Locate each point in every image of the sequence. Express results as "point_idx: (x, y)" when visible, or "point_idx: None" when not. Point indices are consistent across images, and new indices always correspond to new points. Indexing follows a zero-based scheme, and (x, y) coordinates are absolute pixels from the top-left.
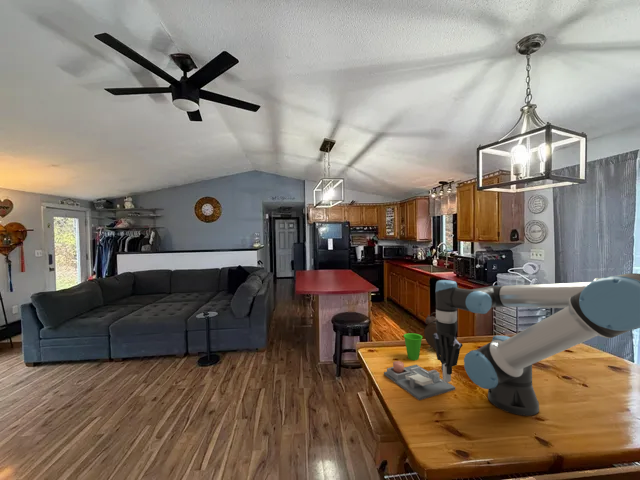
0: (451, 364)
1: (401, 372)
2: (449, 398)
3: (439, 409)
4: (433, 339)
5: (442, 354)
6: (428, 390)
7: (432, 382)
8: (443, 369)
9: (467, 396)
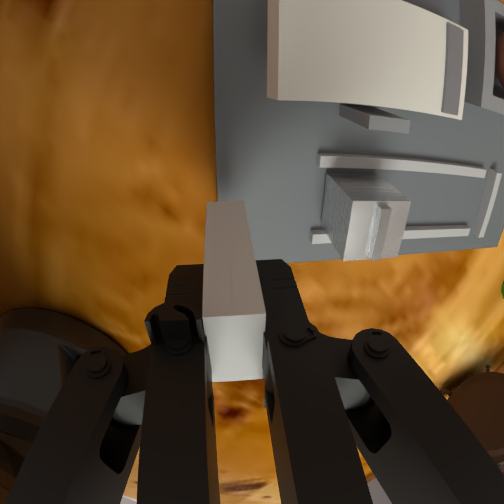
0: (84, 375)
1: (499, 50)
2: (145, 146)
3: (72, 5)
4: (493, 400)
5: (303, 467)
6: (266, 54)
7: (268, 94)
8: (242, 268)
9: (134, 264)
